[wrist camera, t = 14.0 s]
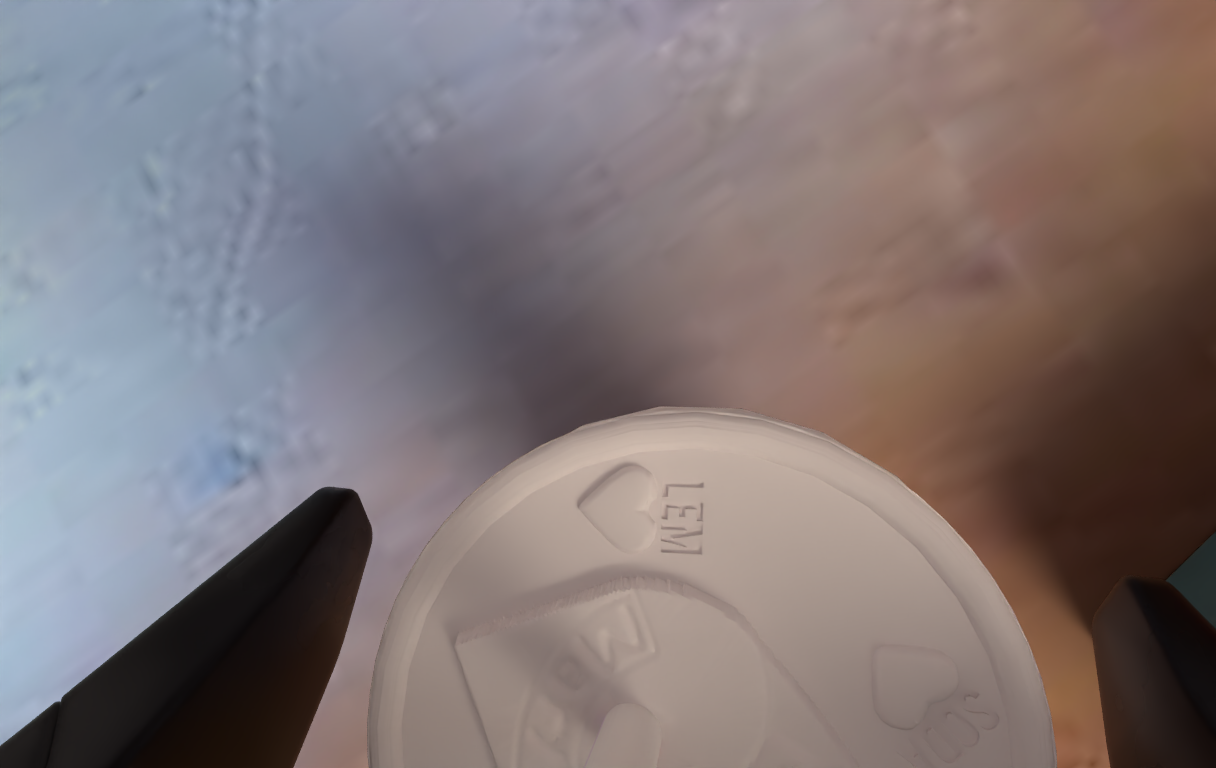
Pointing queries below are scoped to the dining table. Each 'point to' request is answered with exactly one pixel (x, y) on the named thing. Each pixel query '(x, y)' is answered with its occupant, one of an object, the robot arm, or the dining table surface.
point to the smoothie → (702, 615)
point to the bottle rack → (1199, 579)
